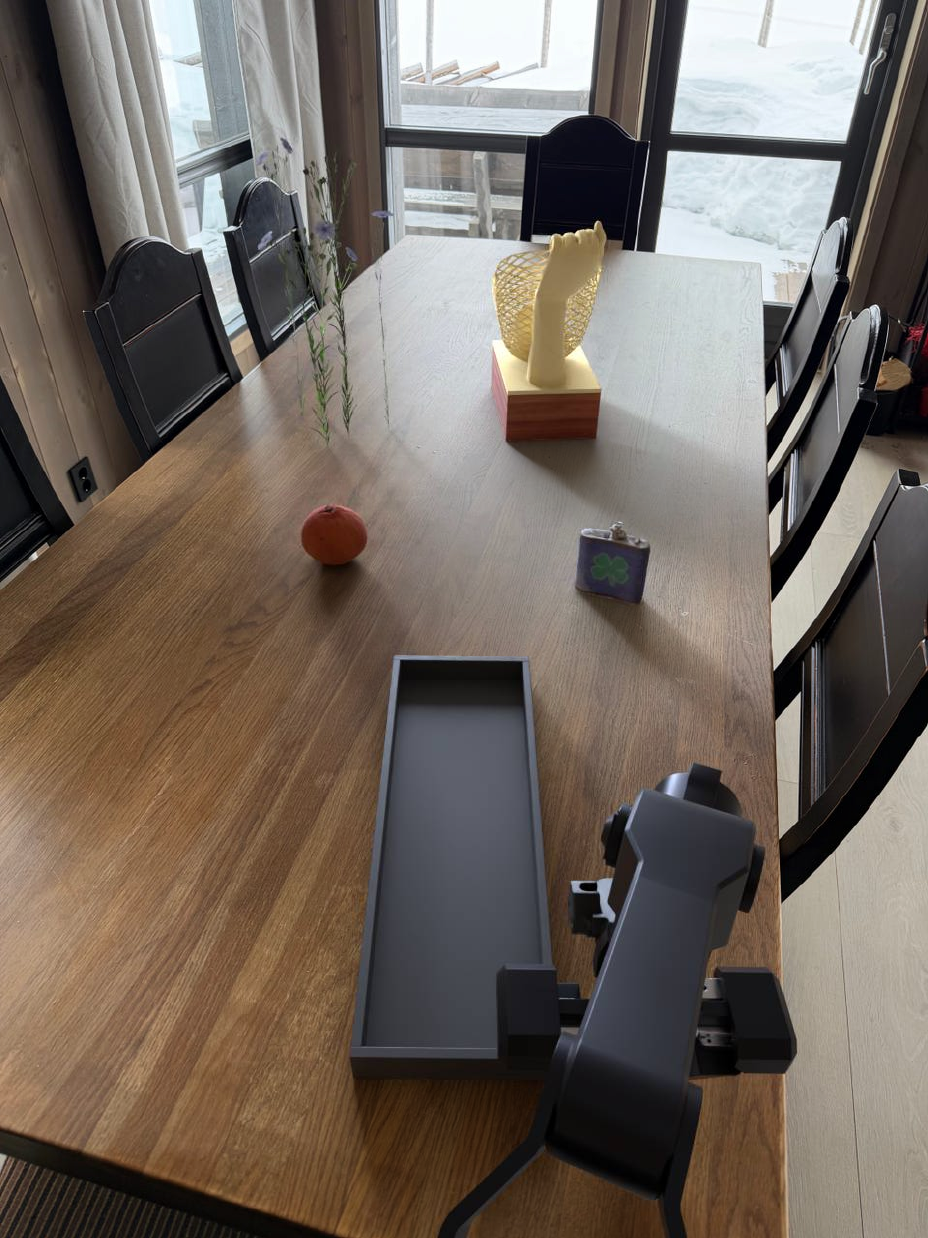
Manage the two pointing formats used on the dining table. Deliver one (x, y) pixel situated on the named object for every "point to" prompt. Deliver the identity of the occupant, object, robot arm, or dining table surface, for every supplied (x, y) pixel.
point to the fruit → (333, 534)
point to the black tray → (451, 870)
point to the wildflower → (325, 231)
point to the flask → (612, 564)
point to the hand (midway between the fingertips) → (624, 1075)
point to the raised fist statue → (548, 342)
